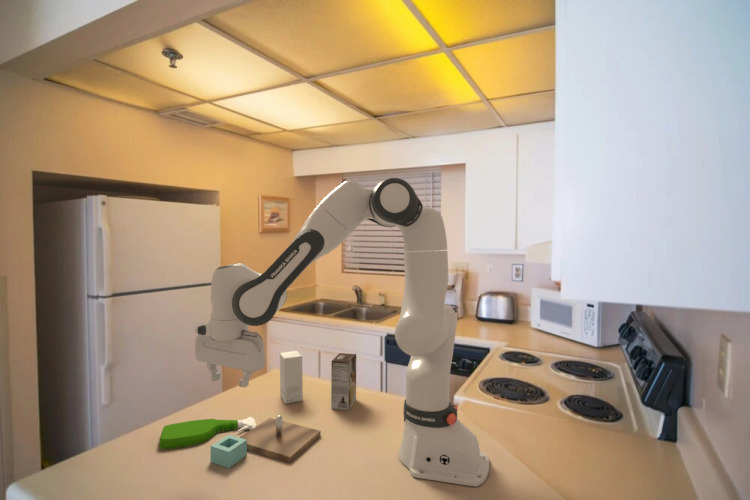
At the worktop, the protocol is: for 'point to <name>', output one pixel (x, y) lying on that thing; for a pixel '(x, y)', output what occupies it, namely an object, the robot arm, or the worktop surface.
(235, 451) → the teal square ring
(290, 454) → the walnut board
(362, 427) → the worktop surface
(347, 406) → the coffee box
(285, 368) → the skincare box
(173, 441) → the spray bottle
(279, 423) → the clear glass vial
